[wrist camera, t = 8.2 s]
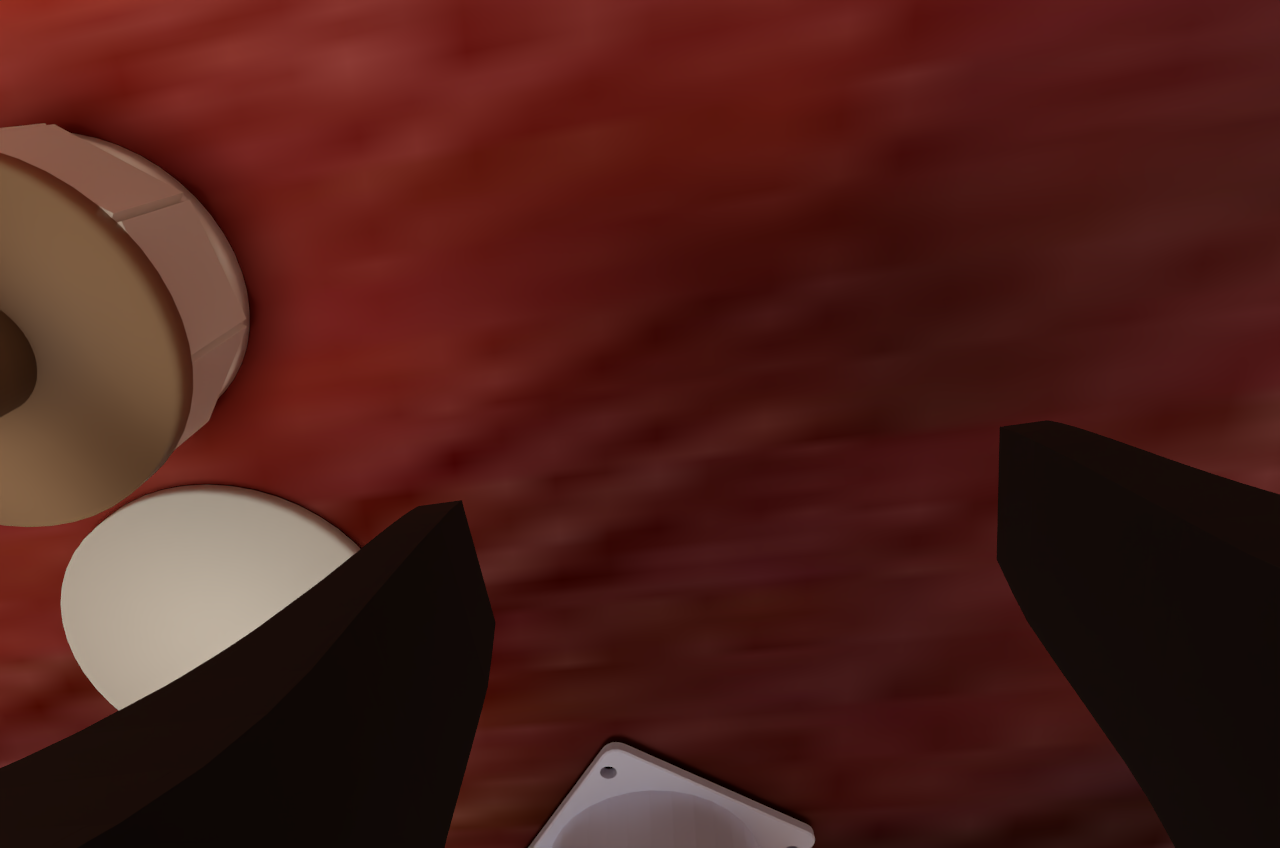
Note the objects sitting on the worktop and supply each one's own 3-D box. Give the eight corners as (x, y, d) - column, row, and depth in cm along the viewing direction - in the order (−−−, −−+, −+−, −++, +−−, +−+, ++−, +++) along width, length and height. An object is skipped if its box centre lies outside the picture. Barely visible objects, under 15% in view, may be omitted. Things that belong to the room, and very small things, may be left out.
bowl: (195, 476, 23) (122, 545, 19) (-92, 344, 21) (-223, 395, 18) (293, 237, 20) (226, 271, 17) (-27, 66, 18) (-168, 68, 15)
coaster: (332, 789, 27) (326, 804, 27) (38, 672, 25) (24, 686, 25) (456, 578, 24) (451, 590, 23) (127, 425, 22) (113, 435, 21)
